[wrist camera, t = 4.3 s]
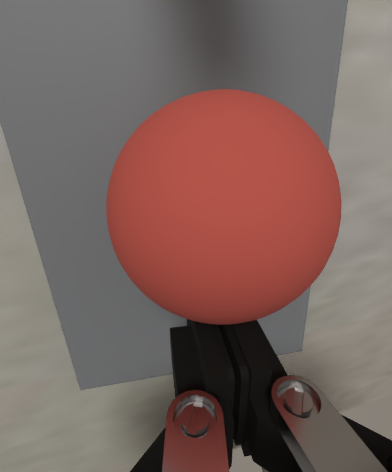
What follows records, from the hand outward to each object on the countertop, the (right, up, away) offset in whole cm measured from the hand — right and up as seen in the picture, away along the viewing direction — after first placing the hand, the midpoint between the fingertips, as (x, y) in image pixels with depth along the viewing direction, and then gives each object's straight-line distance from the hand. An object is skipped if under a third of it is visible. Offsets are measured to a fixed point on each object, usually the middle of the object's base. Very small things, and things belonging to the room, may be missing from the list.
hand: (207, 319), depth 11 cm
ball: (0, +4, -3) cm, 5 cm away
